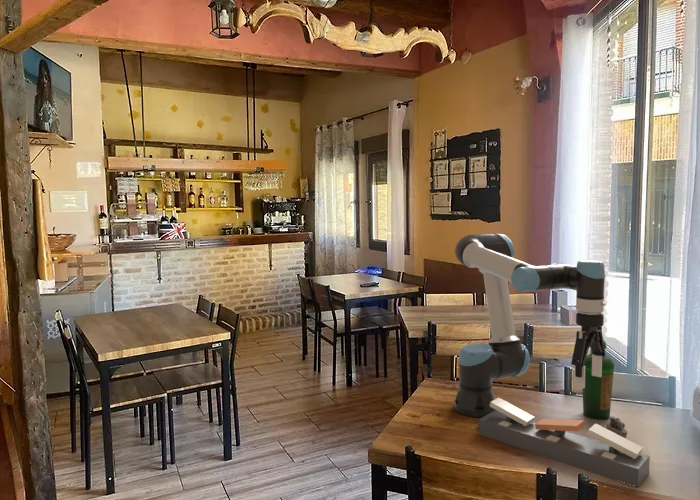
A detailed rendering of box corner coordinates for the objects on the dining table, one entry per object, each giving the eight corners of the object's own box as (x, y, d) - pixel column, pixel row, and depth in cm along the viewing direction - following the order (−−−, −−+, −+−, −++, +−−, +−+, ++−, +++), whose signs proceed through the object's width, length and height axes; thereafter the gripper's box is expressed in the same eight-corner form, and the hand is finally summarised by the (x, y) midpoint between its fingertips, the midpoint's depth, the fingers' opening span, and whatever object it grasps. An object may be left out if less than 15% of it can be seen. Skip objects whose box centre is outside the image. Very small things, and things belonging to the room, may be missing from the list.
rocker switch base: (470, 431, 170) (470, 412, 169) (486, 422, 177) (486, 403, 176) (637, 487, 135) (638, 462, 134) (649, 473, 142) (649, 449, 141)
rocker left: (489, 406, 169) (490, 401, 168) (497, 401, 173) (498, 397, 172) (525, 426, 160) (527, 421, 160) (533, 421, 164) (534, 416, 164)
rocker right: (587, 434, 147) (588, 429, 147) (594, 428, 151) (595, 423, 150) (635, 459, 138) (637, 454, 138) (641, 452, 142) (643, 447, 142)
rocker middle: (536, 429, 158) (534, 424, 158) (543, 424, 162) (542, 418, 162) (578, 431, 149) (576, 425, 149) (585, 425, 153) (584, 420, 153)
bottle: (617, 422, 175) (619, 341, 173) (583, 420, 178) (585, 340, 175) (608, 410, 186) (610, 334, 184) (576, 408, 188) (578, 333, 186)
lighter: (602, 445, 159) (603, 413, 158) (613, 444, 159) (614, 413, 158) (618, 457, 151) (619, 424, 150) (629, 457, 151) (630, 424, 150)
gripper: (586, 320, 142) (585, 395, 144) (617, 307, 160) (615, 374, 162) (559, 317, 148) (558, 389, 149) (592, 304, 165) (590, 369, 167)
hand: (588, 381), depth 156 cm, fingers open, 13 cm apart
